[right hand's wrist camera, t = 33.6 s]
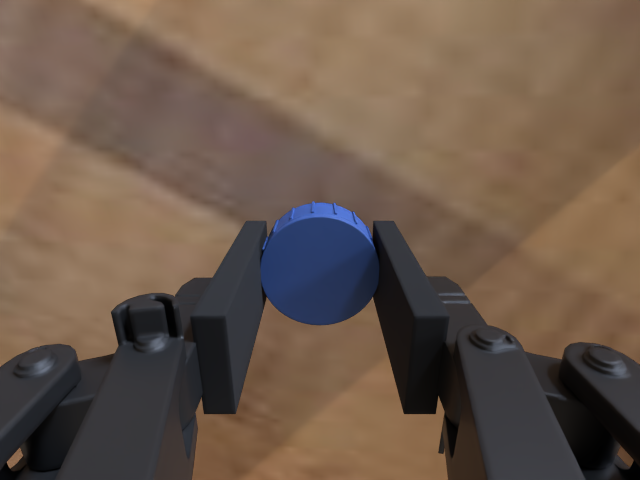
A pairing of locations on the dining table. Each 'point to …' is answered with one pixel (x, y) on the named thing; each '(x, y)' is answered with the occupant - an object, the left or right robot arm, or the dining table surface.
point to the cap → (319, 264)
